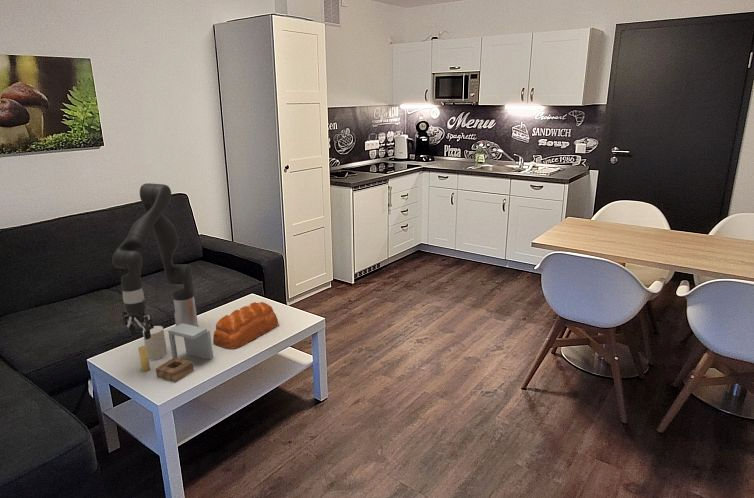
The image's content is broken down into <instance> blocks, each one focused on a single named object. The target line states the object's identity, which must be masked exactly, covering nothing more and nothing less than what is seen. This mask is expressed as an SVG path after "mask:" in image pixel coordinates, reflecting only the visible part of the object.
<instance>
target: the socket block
mask: <svg viewBox="0 0 754 498" xmlns="http://www.w3.org/2000/svg"><path fill="white" fill-rule="evenodd" d="M194 371H195V367H194V362H193V361H192V360H188V359H184V358H181V357H178V358H177V357H174V358H171V359H169V360H168V361H165V362H164V363H162V364H159V366H157V367H155V375H156V378H159V379H161V380H165V381H168V382H171V383H172V382H173V383H176V382H178V381H180V380H182V379H183V378H185V377H186V376H187V375H189V374H191V373H193V372H194Z"/></svg>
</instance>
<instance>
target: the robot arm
mask: <svg viewBox="0 0 754 498" xmlns="http://www.w3.org/2000/svg"><path fill="white" fill-rule="evenodd" d="M139 198H140V202H141V204H142V206H143V208H144V210H145V212H146V213H144V214H143V215H142V216H141V217H140V218H138V219H137V220H136V221H135V222H134V223H133V224H132V226H131V228H130V230H129V232H128V234H127V236H126V238H125V239H124V240H123V241H122V243H120V244H119V246H118V247H117V248H116V250H115V251H114V252H113V254H112V258H111V262H112V265H113V266H114V267H115V268H116V269H123V270H125V269H126V270H128V272H127V273H125V274H123V275H121V276H120V284H121V285H120V286H121V291H122V301H123V305H124V311H122V312H121V313H122V321H123V323H122V324H123V325H124V326H127V328H128V332H129V336H130V337H134V336H135V335H136V334H137V333H136V327H135V325H138V326H139V327H140V328H142V331H143V330H144V336H145V339H146V340H147V339H149V338H151V334H150V330H151V329H153V328H154V326H155V325H154V323H153V316H152V314H151V313H150V314H146V313H145V312H146V311H145V310H146V309H147V306H146V300H145V294H144V290H143V285H142V284H143V283H142V279H141V276H142V268H143V257H142V255H141V253H140V252H138V251H139V250H141V249H143V248H145V245H146V242H147V240H148V238H149V237H150V234H151V232H153V236H154V238H155V242H156V245H157V247H158V250H159V253H160V257H161V261H162V264H163V269H164V274H165V277H166V280H167V282H168V284H170V285H183V287H181V288H178V289H176V290H174V291H173V292H172V298H173V300H172V301H173V305H174V306H173V307H174V311H175V312H173V316H174V322H175V326H177V325H179V324H181V323H183V324H188V325H192V326H197V327H199V323H198V315H197V308H196V301H195V294H194V293H195V292H194V281H193V270H192V267H191V265H190V264H189V263H187V264H186V263H183V264H182V263H181V264H178V263H177V264H176V263H175V264H174V261H173V257H174V255H175V252H176V251H177V249H178V246H179V242H180V240H179V239H180V238H179V235H178V231H177V229H176V225H174V224H173V223H172V222H171V221H170V219H169V218H167V216H166V215H164V212H165V210H166V209H167V207H168V206H169V204H170V202H171V199H172V191H171V188H170V186H169V185H167V184H163V183H152V182H151V183H150V182H149V183H143V184H142V185H141V186H140V188H139Z"/></svg>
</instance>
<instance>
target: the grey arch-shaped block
mask: <svg viewBox="0 0 754 498" xmlns="http://www.w3.org/2000/svg"><path fill="white" fill-rule="evenodd" d="M167 333H168V339H169V344H170V350H171V351H170V352H171V357H172V358H174V357H177V358H179V356H178V351H177V350H178V348H177V345H176V344H177V343H176V337H175V336H177V337H181V338H183V340H184V346H185V353H186V355H190V356H195V357H199V358H203V359H206V360H209V361H210V360H213V359H214V354H213V346H212V345H213V344H212V339H211V338H212V337H211V331H210V329H207V328H205V327H200V326H198V327H197V326H192V325H188V324H183V323H181V324H179V325H177V326H176V325H175V326H174V327H171V328H170V329H168V330H167ZM172 358H171V359H172Z"/></svg>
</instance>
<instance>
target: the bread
mask: <svg viewBox="0 0 754 498" xmlns="http://www.w3.org/2000/svg"><path fill="white" fill-rule="evenodd" d="M278 325H279V320H278V318H277V315H276V313H275V312H274V309H273V307H272V306H271V305H269V304H268V303H266V302H263V301H260V302H251V303H250V304H249V305H245V306H243V307H240V308H239V309H235V310H233V311H232V312H231V313H230V314H226V315H224V316H223V317H221V318H220V319H218V321H217V322H216V324H215V330H214V331H213V339H212V341H213V344H215V345H218V346H219V347H223V348H225V349H238V348H240V347H242V346H243V345H246V344H247V343H250V342H252V341H253V340H255V339H257V338H259V337H260V336H262V335H265V334H266V333H268V332H269V331H271V330H272V329H275V328H276V327H277V326H278Z"/></svg>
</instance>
